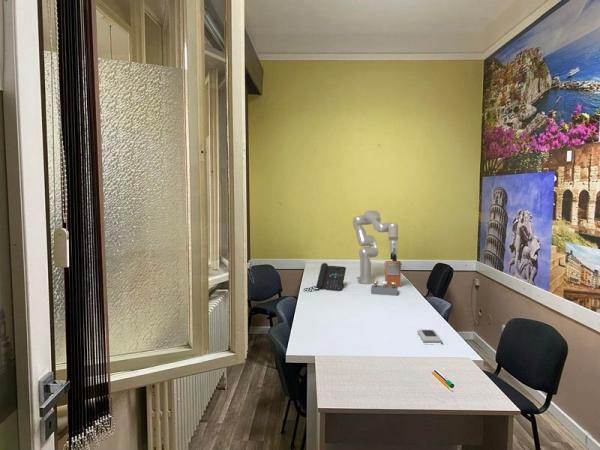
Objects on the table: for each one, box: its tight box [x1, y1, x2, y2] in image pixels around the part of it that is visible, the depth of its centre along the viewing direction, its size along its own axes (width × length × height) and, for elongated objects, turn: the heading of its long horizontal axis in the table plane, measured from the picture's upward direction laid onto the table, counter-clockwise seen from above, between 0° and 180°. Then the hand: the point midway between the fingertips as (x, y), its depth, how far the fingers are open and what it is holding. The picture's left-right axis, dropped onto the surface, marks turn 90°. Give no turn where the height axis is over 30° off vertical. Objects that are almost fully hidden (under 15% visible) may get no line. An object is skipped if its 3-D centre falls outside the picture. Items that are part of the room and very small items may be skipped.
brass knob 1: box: [372, 279, 379, 287], centre depth 316 cm, size 4×4×6 cm
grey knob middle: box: [381, 280, 387, 288], centre depth 314 cm, size 4×4×6 cm
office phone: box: [303, 262, 347, 292], centre depth 329 cm, size 29×28×20 cm
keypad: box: [417, 329, 443, 344], centre depth 218 cm, size 10×4×15 cm
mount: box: [370, 284, 399, 296], centre depth 315 cm, size 20×10×5 cm, turn 74°
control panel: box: [383, 260, 403, 288], centre depth 337 cm, size 21×7×15 cm
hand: (393, 260), depth 317 cm, fingers open, 9 cm apart
